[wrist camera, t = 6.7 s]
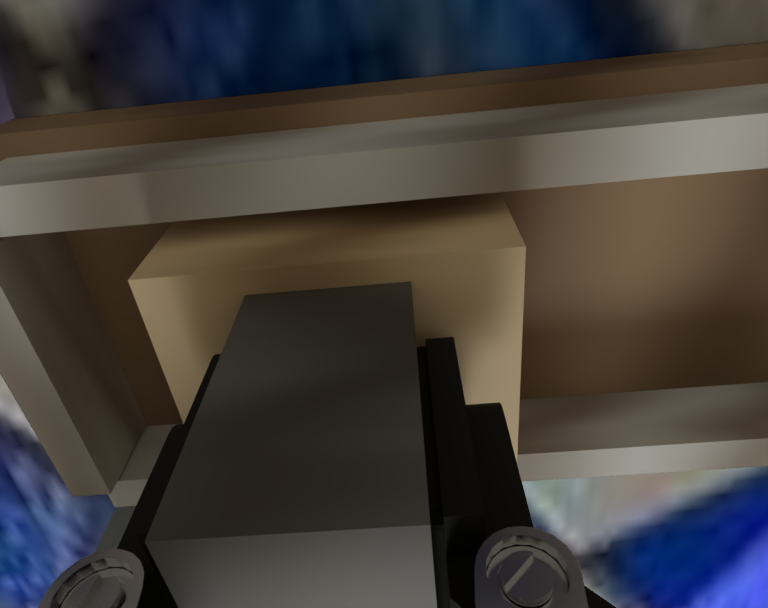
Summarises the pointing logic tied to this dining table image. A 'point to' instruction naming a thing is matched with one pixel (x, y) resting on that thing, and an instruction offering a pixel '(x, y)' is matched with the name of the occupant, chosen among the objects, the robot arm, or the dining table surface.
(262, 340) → the carriage
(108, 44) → the dining table surface
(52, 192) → the wooden tray
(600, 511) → the dining table surface
